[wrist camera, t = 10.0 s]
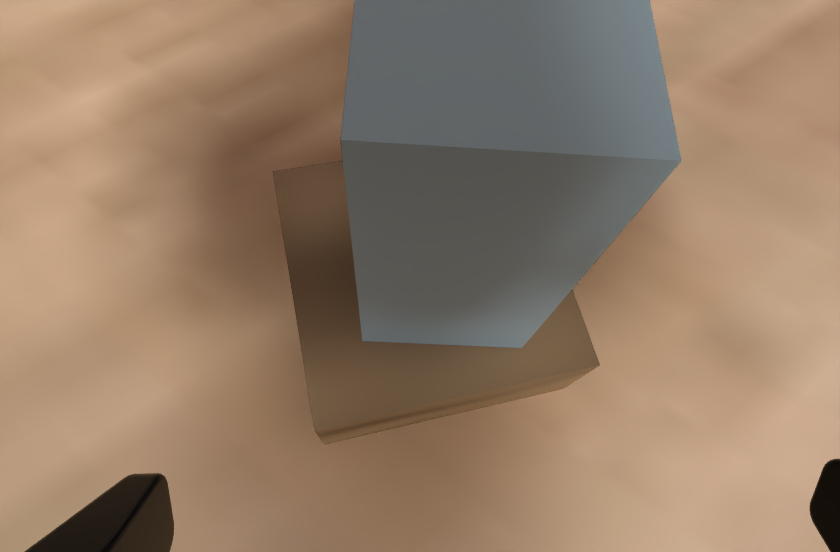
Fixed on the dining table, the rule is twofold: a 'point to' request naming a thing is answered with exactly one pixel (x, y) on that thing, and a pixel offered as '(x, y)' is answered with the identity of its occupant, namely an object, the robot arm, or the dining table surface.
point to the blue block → (494, 157)
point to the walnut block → (387, 361)
